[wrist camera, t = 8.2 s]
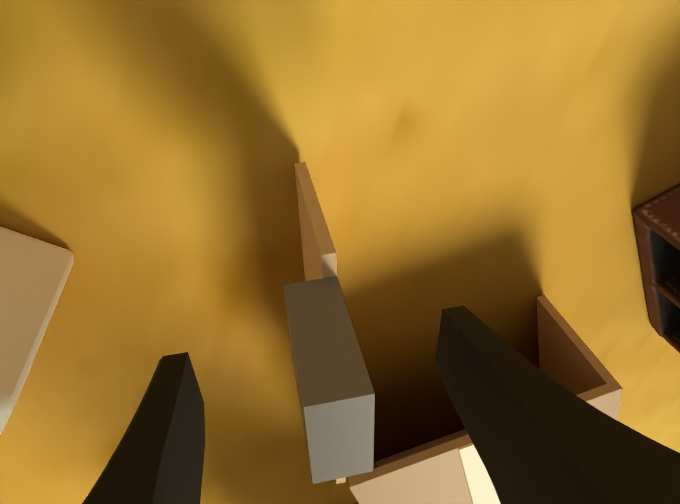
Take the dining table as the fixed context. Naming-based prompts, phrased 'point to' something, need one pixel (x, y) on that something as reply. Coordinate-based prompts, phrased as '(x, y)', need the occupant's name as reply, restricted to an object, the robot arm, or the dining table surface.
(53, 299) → the medicine bottle
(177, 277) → the dining table surface
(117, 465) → the robot arm
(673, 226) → the letter holder
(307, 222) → the side flap
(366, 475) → the carton
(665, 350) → the dining table surface
